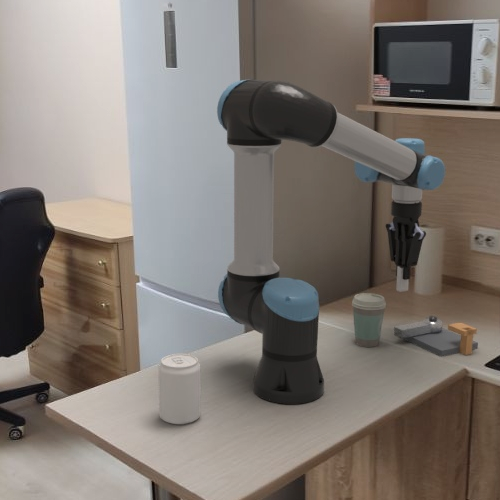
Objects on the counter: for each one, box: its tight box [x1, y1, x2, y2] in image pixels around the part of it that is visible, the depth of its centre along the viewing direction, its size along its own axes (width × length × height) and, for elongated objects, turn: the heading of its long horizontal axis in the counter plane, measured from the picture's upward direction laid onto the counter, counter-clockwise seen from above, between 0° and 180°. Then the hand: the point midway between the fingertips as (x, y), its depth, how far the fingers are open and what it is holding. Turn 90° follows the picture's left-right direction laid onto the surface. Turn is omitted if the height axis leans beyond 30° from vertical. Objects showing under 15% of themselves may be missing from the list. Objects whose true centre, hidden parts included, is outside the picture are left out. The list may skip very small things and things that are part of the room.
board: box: [401, 327, 479, 357], centre depth 194 cm, size 12×15×2 cm
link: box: [393, 315, 443, 339], centre depth 196 cm, size 14×5×3 cm, turn 120°
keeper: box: [447, 322, 478, 356], centre depth 188 cm, size 4×6×6 cm
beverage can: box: [158, 353, 202, 425], centre depth 150 cm, size 8×8×12 cm
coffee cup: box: [351, 292, 387, 348], centre depth 192 cm, size 8×8×12 cm
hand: (402, 290), depth 198 cm, fingers closed
